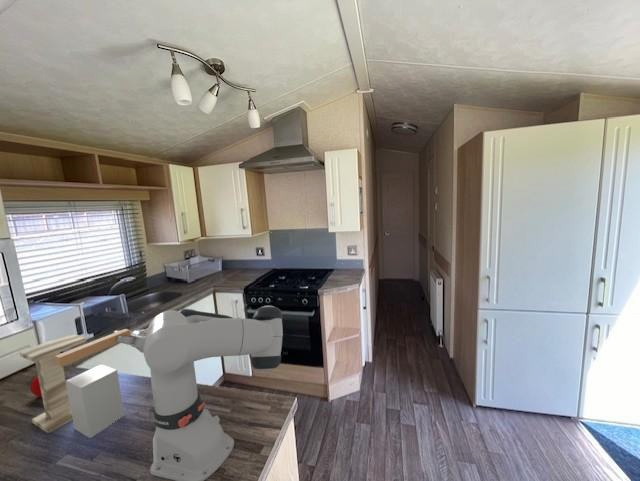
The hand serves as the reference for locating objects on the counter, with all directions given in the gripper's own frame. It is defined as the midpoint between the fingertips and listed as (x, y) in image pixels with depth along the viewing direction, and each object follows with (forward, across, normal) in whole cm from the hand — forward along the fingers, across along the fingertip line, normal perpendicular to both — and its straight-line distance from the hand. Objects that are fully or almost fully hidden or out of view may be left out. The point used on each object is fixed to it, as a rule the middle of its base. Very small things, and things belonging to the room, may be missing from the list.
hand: (113, 337), depth 96 cm
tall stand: (-4, +17, -28) cm, 33 cm away
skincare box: (-16, +67, -22) cm, 72 cm away
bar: (+4, 0, -4) cm, 6 cm away
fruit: (-7, +40, -27) cm, 49 cm away
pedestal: (-7, 0, -27) cm, 28 cm away
